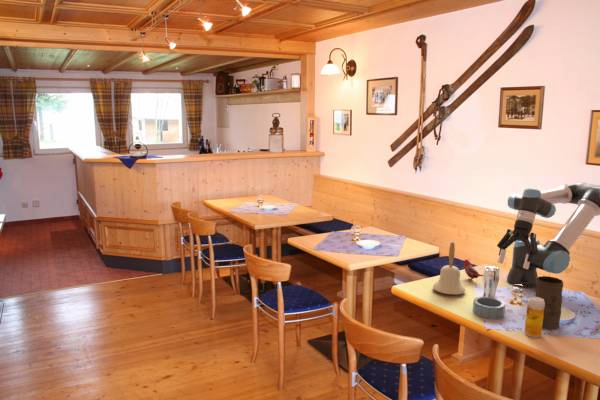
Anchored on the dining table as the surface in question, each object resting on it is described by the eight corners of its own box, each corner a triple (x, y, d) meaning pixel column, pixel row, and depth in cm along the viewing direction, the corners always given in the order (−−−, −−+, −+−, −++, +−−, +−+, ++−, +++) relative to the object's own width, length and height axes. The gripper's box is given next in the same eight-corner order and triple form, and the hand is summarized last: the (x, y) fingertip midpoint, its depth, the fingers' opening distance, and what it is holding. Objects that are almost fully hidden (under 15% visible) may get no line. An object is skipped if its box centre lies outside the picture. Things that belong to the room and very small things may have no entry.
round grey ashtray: (487, 305, 225) (488, 295, 224) (509, 316, 214) (510, 305, 213) (467, 309, 220) (468, 299, 219) (488, 320, 209) (489, 309, 208)
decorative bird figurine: (464, 275, 265) (466, 257, 263) (485, 287, 248) (487, 268, 247) (460, 276, 264) (461, 258, 263) (480, 287, 248) (482, 268, 246)
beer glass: (498, 302, 229) (501, 271, 226) (482, 301, 230) (485, 270, 227) (495, 297, 236) (498, 266, 233) (480, 295, 237) (482, 265, 234)
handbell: (432, 284, 251) (436, 236, 246) (464, 288, 247) (468, 239, 242) (432, 295, 236) (436, 244, 232) (465, 299, 232) (470, 247, 228)
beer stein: (566, 329, 201) (570, 282, 199) (542, 331, 199) (546, 282, 197) (542, 316, 216) (545, 272, 214) (520, 317, 215) (522, 272, 212)
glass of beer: (521, 331, 199) (525, 296, 196) (535, 331, 200) (539, 296, 197) (529, 338, 193) (533, 302, 190) (544, 338, 194) (548, 301, 191)
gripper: (497, 216, 237) (485, 259, 235) (544, 222, 215) (531, 269, 213) (506, 220, 240) (495, 262, 239) (554, 226, 218) (542, 273, 217)
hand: (512, 265), depth 226 cm, fingers open, 13 cm apart
